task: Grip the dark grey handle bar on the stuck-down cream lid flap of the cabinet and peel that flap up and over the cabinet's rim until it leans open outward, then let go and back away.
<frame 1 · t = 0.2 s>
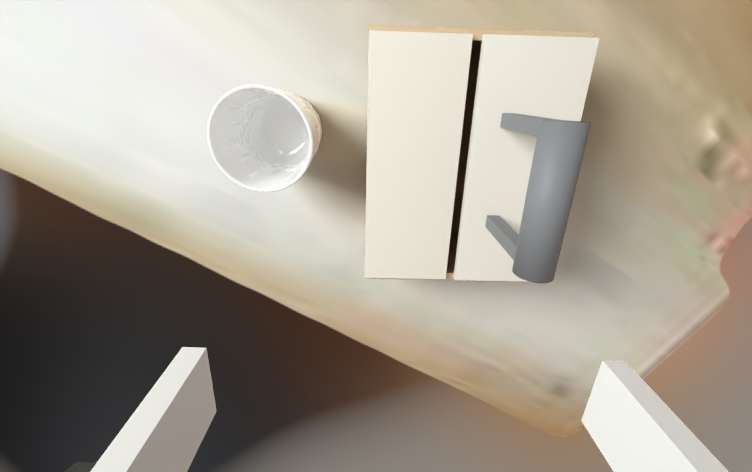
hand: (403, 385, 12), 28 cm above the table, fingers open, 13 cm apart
white cup: (289, 128, 37), on the table
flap: (543, 187, 24), point 14 cm above the table, hinge at 0.0°
cabinet: (445, 153, 37), on the table
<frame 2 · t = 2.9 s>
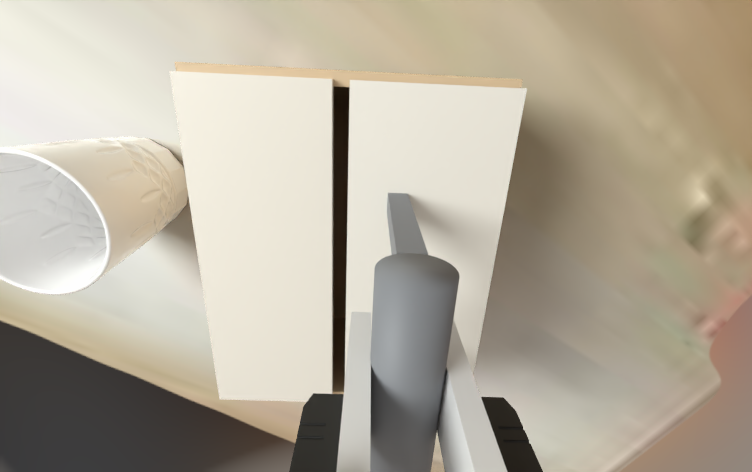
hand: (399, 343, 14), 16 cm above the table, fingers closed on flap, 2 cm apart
white cup: (146, 180, 28), on the table
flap: (431, 322, 16), point 14 cm above the table, hinge at 0.0°, touching gripper
cabinet: (354, 215, 29), on the table
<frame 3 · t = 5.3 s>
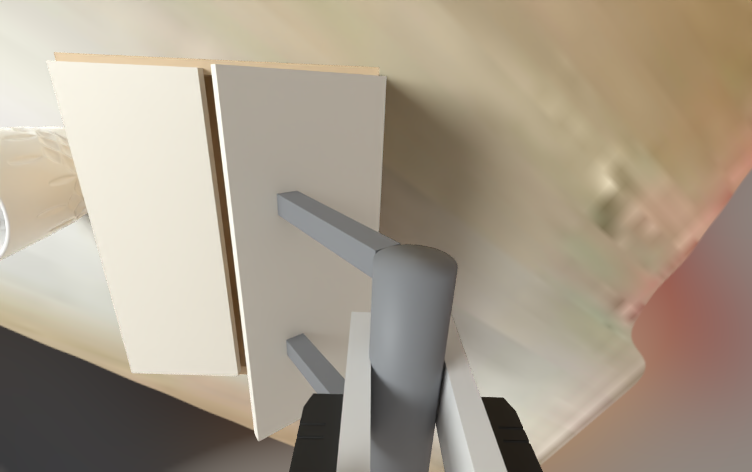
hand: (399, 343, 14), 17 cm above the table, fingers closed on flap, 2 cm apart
white cup: (75, 169, 29), on the table
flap: (369, 312, 16), point 15 cm above the table, hinge at 37.7°, touching gripper
cabinet: (276, 201, 30), on the table
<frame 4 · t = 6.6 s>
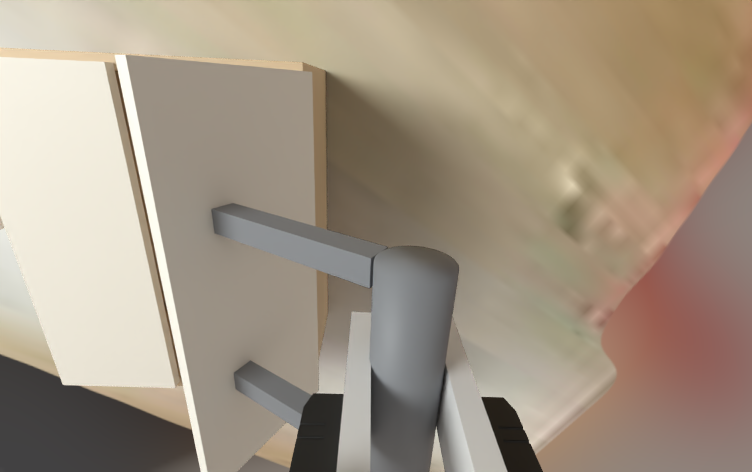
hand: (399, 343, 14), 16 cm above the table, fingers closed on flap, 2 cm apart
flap: (337, 322, 15), point 15 cm above the table, hinge at 58.2°, touching gripper
cabinet: (226, 204, 29), on the table
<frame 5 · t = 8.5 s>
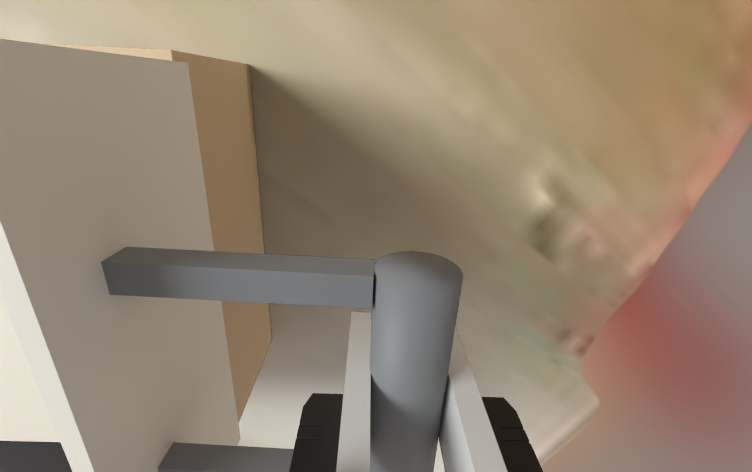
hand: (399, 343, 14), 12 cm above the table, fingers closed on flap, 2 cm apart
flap: (295, 355, 13), point 13 cm above the table, hinge at 87.8°, touching gripper
cabinet: (145, 219, 25), on the table
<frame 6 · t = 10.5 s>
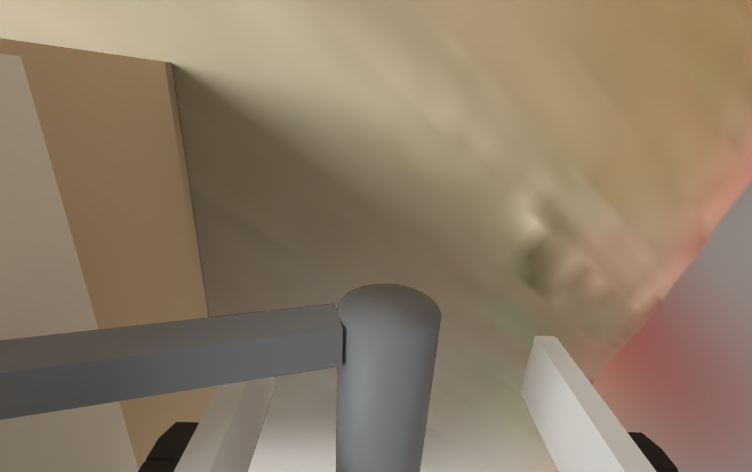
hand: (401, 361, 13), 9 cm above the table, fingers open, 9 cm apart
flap: (234, 429, 10), point 12 cm above the table, hinge at 104.6°, touching gripper, hand
cabinet: (56, 248, 21), on the table
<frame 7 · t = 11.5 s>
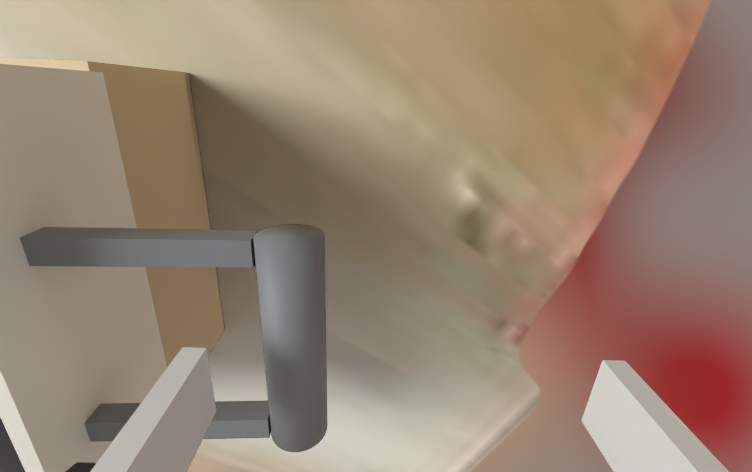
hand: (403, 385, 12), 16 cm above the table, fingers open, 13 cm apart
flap: (207, 320, 15), point 13 cm above the table, hinge at 93.0°
cabinet: (100, 215, 27), on the table
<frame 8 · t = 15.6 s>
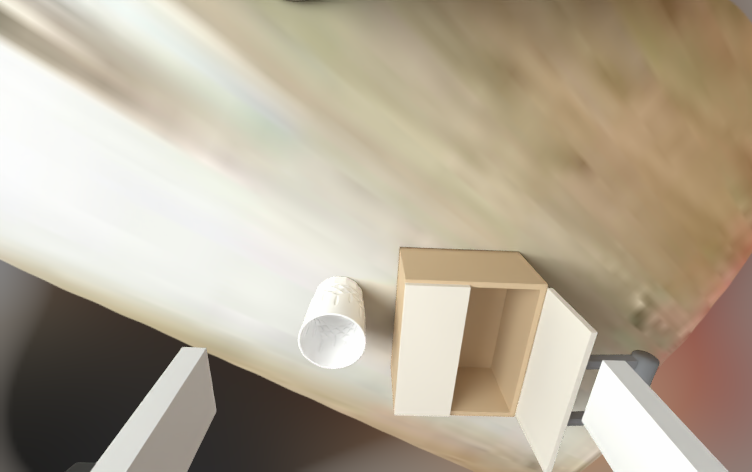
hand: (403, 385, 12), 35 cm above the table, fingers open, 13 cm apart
white cup: (339, 295, 51), on the table
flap: (589, 380, 41), point 13 cm above the table, hinge at 93.0°
cabinet: (450, 312, 52), on the table
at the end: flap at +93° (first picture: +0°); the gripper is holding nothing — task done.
